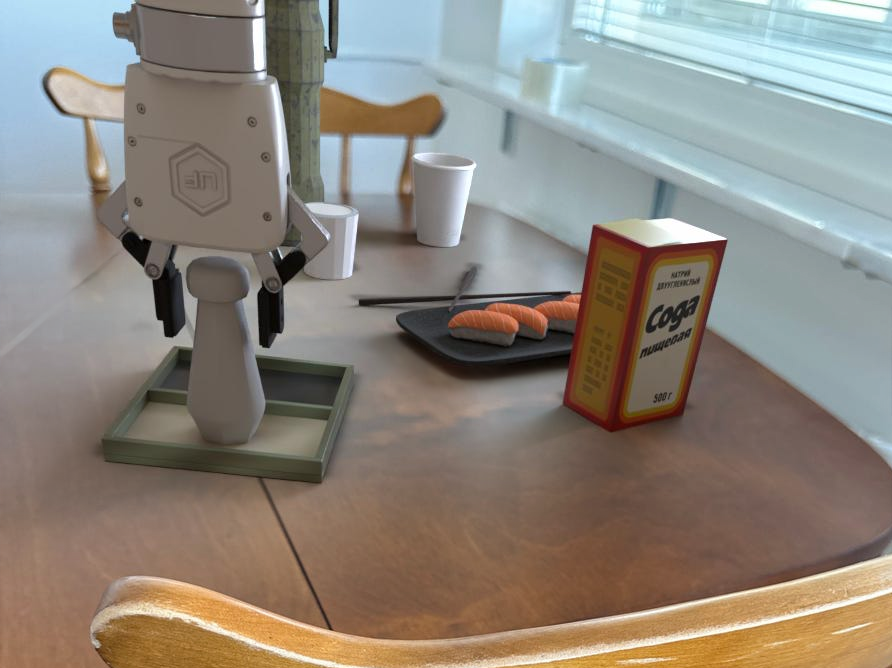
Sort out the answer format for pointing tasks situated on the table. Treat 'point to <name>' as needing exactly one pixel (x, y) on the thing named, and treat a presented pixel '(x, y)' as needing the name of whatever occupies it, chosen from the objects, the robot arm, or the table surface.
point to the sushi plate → (492, 325)
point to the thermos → (300, 86)
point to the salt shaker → (223, 354)
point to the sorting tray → (276, 439)
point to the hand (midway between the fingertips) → (221, 334)
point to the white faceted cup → (334, 241)
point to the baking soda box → (641, 320)
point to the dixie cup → (441, 196)
